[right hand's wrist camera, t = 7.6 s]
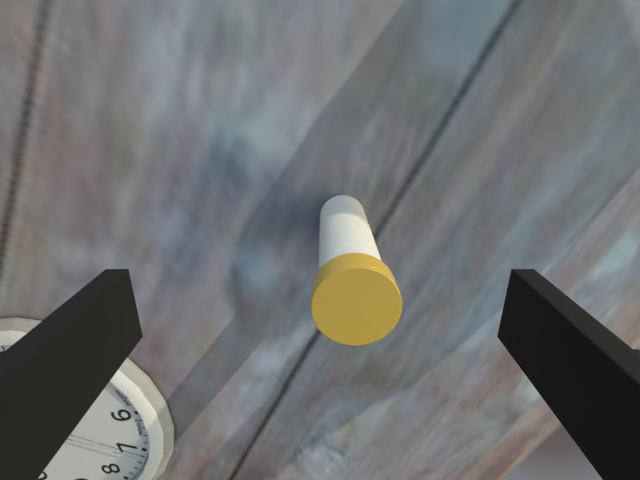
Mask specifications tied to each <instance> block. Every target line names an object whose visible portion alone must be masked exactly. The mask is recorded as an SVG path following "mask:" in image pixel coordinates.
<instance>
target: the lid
mask: <svg viewBox="0 0 640 480" xmlns="http://www.w3.org/2000/svg"><path fill="white" fill-rule="evenodd" d="M401 311H402V299H401V295H400V292H399V289H398V287H397V284H396V281H395V279H394V276H393V274H392V272H391V271H390V269H389V268H388V267H387V266H386V264H384V263H383V262H382V261H381V260H379V259H377V258H376V257H373V256H371V255H368V254H363V253H347V254H342V255H339V256H337V257H334V258H332V259H331V260H329V261H328V262H326V263H325V264H324V265H323V266H322V267H321V268H320V269H319V271H318V272H317V274H316V276H315V278H314V280H313V284H312V297H311V314H312V318H313V320H314V323H315V325H316V326H317V328H318V329H319V330H320V331H321V332H322V333H323V334H324V335H325V336H326V337H328V338H329V339H331V340H333V341H335V342H337V343H340V344H344V345H351V346H360V345H367V344H370V343H373V342H376V341H378V340H380V339H382V338H383V337H385V336H386V335H387V334H389V333H390V332H391V331H392V330H393V328H394V327H395V326H396V324H397V323H398V320H399V318H400V315H401Z"/></svg>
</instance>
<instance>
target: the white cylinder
mask: <svg viewBox="0 0 640 480" xmlns="http://www.w3.org/2000/svg"><path fill="white" fill-rule="evenodd" d="M347 253H363V254H368V255H371V256H373V257H376V258H377V259H379V260H381V258H380V255H379V252H378V250H377V247H376V244H375V241H374V238H373V235H372V232H371V229H370V227H369V224H368V221H367V218H366V215H365V212H364V209H363V207H362V205H361V204H360V202H359V201H358V200H356V199H355V198H353V197H351V196H347V195H338V196H335V197H332V198H331V199H329V200H328V201H327V202H326V203H325V204H324V205H323V207H322V209H321V213H320V237H319V269H320V268H321V267H322V266H323V265H324V264H325V263H326V262H328V261H329V260H331V259H332V258H334V257H337V256H339V255H342V254H347Z"/></svg>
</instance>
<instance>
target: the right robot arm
mask: <svg viewBox="0 0 640 480" xmlns="http://www.w3.org/2000/svg"><path fill="white" fill-rule="evenodd" d="M142 337H143V336H142V331H141V326H140V322H139V317H138V312H137V308H136V303H135V298H134V293H133V289H132V284H131V279H130V275H129V270H128V269H106V270H105V271H103V272H102V273H101V274H100V275H98V276H97V277H96V278H95V279H93V280H92V281H91V282H90V283H88V284H87V285H86V286H85V287H84V288H82V289H81V290H80V291H79V292H77V293H76V294H75V295H74V296H72V297H71V298H70V299H69V300H67V301H66V302H65V303H64V304H63V305H61V306H60V307H59V308H58V309H56V310H55V311H54V312H53V313H51V314H50V315H49V316H48V317H46V318H45V319H44V320H43V321H42V322H40V323H39V324H38V325H37V326H35V327H34V328H33V329H32V330H30V331H29V332H28V333H27V334H26V335H24V336H23V337H22V338H21V339H19V340H18V341H17V342H16V343H14V344H13V345H12V346H11V347H9V348H8V349H7V350H6V351H1V352H0V480H37V479H38V478H39V476H40V475H41V474H42V472H43V471H44V470H45V468H46V467H47V465H48V464H49V463H50V461H51V460H52V459H53V457H54V456H55V455H56V453H57V452H58V451H59V449H60V448H61V446H62V445H63V444H64V442H65V441H66V440H67V438H68V437H69V436H70V434H71V433H72V432H73V430H74V429H75V427H76V426H77V425H78V423H79V422H80V421H81V419H82V418H83V417H84V415H85V414H86V413H87V411H88V410H89V408H90V407H91V406H92V404H93V403H94V402H95V400H96V399H97V398H98V396H99V395H100V394H101V392H102V391H103V390H104V388H105V387H106V385H107V384H108V383H109V381H110V380H111V379H112V377H113V376H114V375H115V373H116V372H117V371H118V369H119V368H120V366H121V365H122V364H123V362H124V361H125V360H126V358H127V357H128V356H129V354H130V353H131V352H132V350H133V349H134V347H135V346H136V345H137V343H138V342H139V341H140V339H141V338H142ZM497 337H498V338H499V339H500V341H501V342H502V343H503V345H504V346H505V347H506V349H507V350H508V352H509V353H510V354H511V356H512V357H513V358H514V360H515V361H516V362H517V364H518V365H519V366H520V368H521V369H522V371H523V372H524V373H525V375H526V376H527V377H528V379H529V380H530V381H531V383H532V384H533V385H534V387H535V388H536V390H537V391H538V392H539V394H540V395H541V396H542V398H543V399H544V400H545V402H546V403H547V404H548V406H549V407H550V408H551V410H552V411H553V413H554V414H555V415H556V417H557V418H558V419H559V421H560V422H561V423H562V425H563V426H564V427H565V429H566V430H567V432H568V433H569V434H570V436H571V437H572V438H573V440H574V441H575V442H576V444H577V445H578V446H579V448H580V449H581V450H582V452H583V453H584V455H585V456H586V457H587V459H588V460H589V461H590V463H591V464H592V465H593V467H594V468H595V470H596V471H597V472H598V474H599V475H600V476H601V478H602V479H603V480H640V350H638V349H632V348H631V347H629V346H628V345H627V344H626V343H624V342H623V341H622V340H621V339H619V338H618V337H617V336H616V335H614V334H613V333H612V332H611V331H610V330H608V329H607V328H606V327H605V326H603V325H602V324H601V323H600V322H598V321H597V320H596V319H595V318H594V317H592V316H591V315H590V314H589V313H587V312H586V311H585V310H584V309H582V308H581V307H580V306H579V305H577V304H576V303H575V302H574V301H573V300H571V299H570V298H569V297H568V296H566V295H565V294H564V293H563V292H561V291H560V290H559V289H558V288H556V287H555V286H554V285H553V284H552V283H550V282H549V281H548V280H547V279H545V278H544V277H543V276H542V275H540V274H539V273H538V272H537V271H535V270H534V269H512V270H511V275H510V279H509V284H508V289H507V293H506V298H505V303H504V308H503V312H502V317H501V322H500V326H499V331H498V336H497Z"/></svg>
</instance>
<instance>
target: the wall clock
mask: <svg viewBox="0 0 640 480" xmlns="http://www.w3.org/2000/svg"><path fill="white" fill-rule="evenodd" d="M40 322H42V321H39V320H32V319H26V318H19V317H15V318H2V319H0V352H1V351H6V350H7V349H8V348H9V347H11V346H12V345H13V344H14V343H16V342H17V341H18V340H19V339H21V338H22V337H23V336H24V335H26V334H27V333H28V332H29V331H30V330H32V329H33V328H34V327H35V326H37V325H38V324H39V323H40ZM173 449H174V425H173V421H172V418H171V415H170V412H169V409H168V406H167V403H166V401H165V400H164V398H163V397H162V395H161V394H160V392H159V391H158V389H157V388H156V386H155V385H154V384H153V382H152V381H151V379H150V378H149V377H148V376H147V375H146V374H145V373H144V372H143V371H142V370H140V369H139V368H138V367H137V366H136V365H135V364H134V363H133V362H132V361H131V360H129V359H128V358H126V360H125V361H124V362H123V364H122V365H121V366H120V368H119V369H118V371H117V372H116V373H115V375H114V376H113V377H112V379H111V380H110V381H109V383H108V384H107V385H106V387H105V388H104V390H103V391H102V392H101V394H100V395H99V396H98V398H97V399H96V400H95V402H94V403H93V404H92V406H91V407H90V408H89V410H88V411H87V413H86V414H85V415H84V417H83V418H82V419H81V421H80V422H79V423H78V425H77V426H76V427H75V429H74V430H73V432H72V433H71V434H70V436H69V437H68V438H67V440H66V441H65V442H64V444H63V445H62V446H61V448H60V449H59V451H58V452H57V453H56V455H55V456H54V457H53V459H52V460H51V461H50V463H49V464H48V465H47V467H46V468H45V470H44V471H43V472H42V474H41V475H40V476H39V478H38V479H37V480H156V479H157V478H158V477H159V476H160V475H161V474H162V473H163V472H164V470H165V468H166V466H167V463H168V461H169V459H170V457H171V454H172V452H173Z"/></svg>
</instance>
